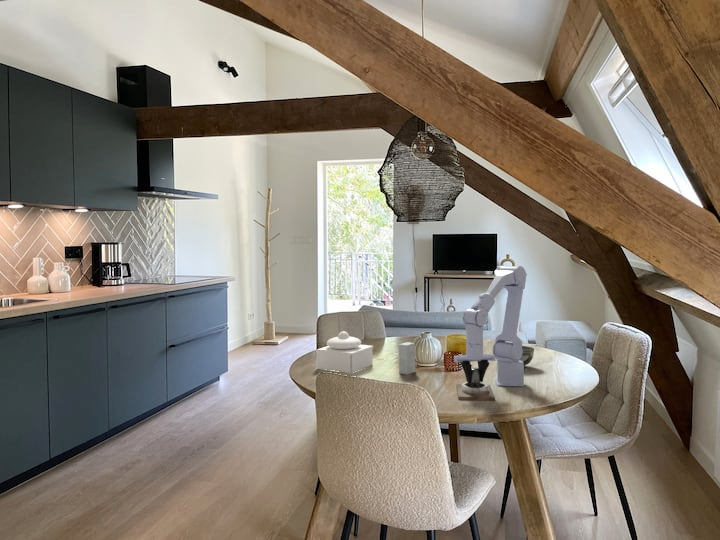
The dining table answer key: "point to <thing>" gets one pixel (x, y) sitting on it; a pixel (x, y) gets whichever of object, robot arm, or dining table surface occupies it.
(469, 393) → the collar board
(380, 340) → the dining table surface
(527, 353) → the bowl
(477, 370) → the cylinder
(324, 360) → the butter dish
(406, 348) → the skincare box
